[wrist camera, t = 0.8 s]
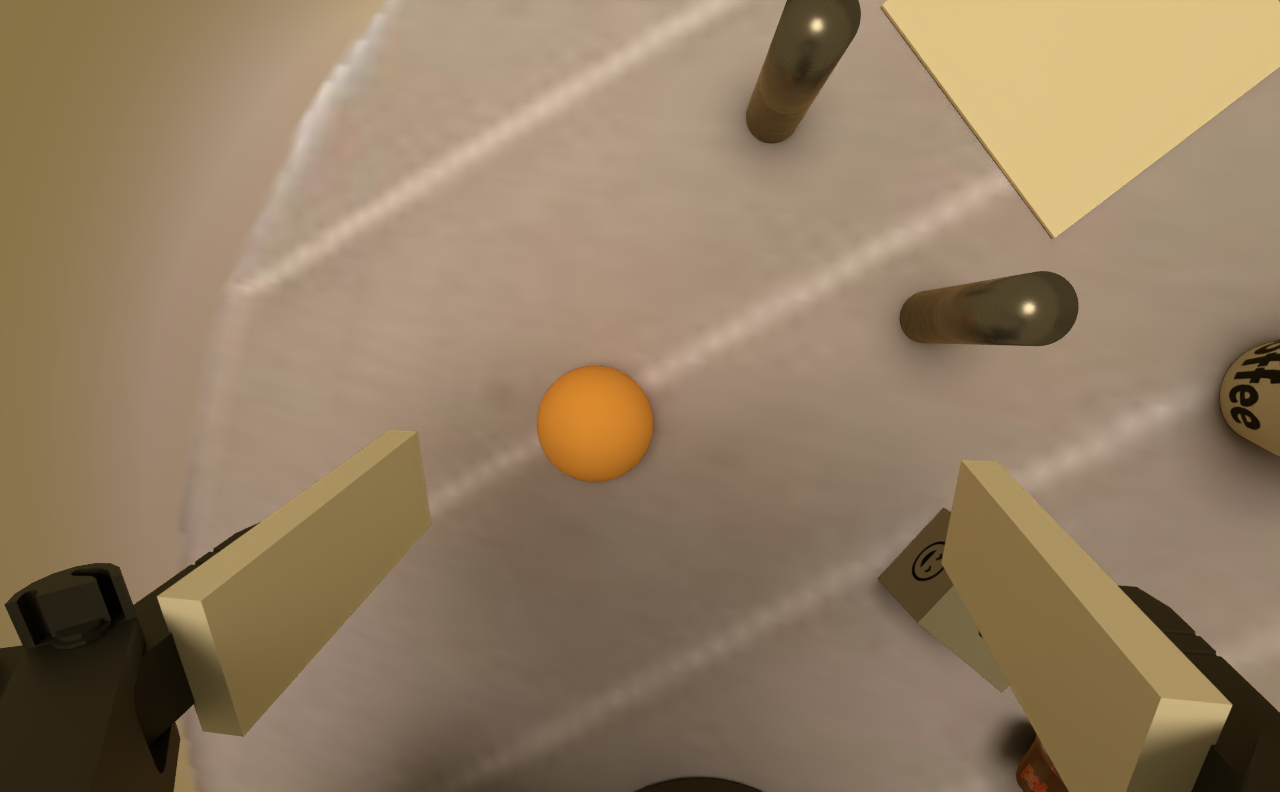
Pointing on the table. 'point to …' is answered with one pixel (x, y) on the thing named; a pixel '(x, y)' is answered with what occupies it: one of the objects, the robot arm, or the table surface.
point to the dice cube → (939, 599)
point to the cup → (1254, 396)
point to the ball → (595, 423)
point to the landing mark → (1087, 82)
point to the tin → (1038, 771)
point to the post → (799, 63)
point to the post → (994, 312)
